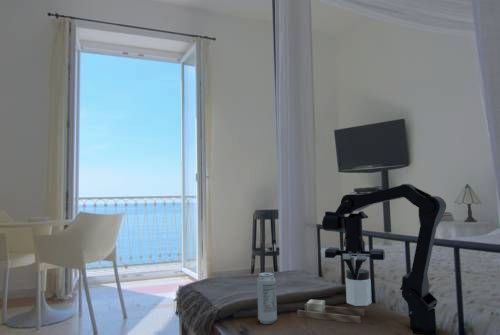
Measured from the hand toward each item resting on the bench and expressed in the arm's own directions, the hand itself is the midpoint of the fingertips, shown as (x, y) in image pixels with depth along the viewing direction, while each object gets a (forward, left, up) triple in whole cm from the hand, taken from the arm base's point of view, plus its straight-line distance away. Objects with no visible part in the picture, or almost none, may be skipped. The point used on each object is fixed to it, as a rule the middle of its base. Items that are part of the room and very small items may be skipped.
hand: (355, 280), depth 126 cm
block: (+13, +3, -11) cm, 17 cm away
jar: (+2, -16, -12) cm, 20 cm away
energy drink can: (+26, +14, -12) cm, 32 cm away
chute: (+8, +3, -12) cm, 15 cm away
